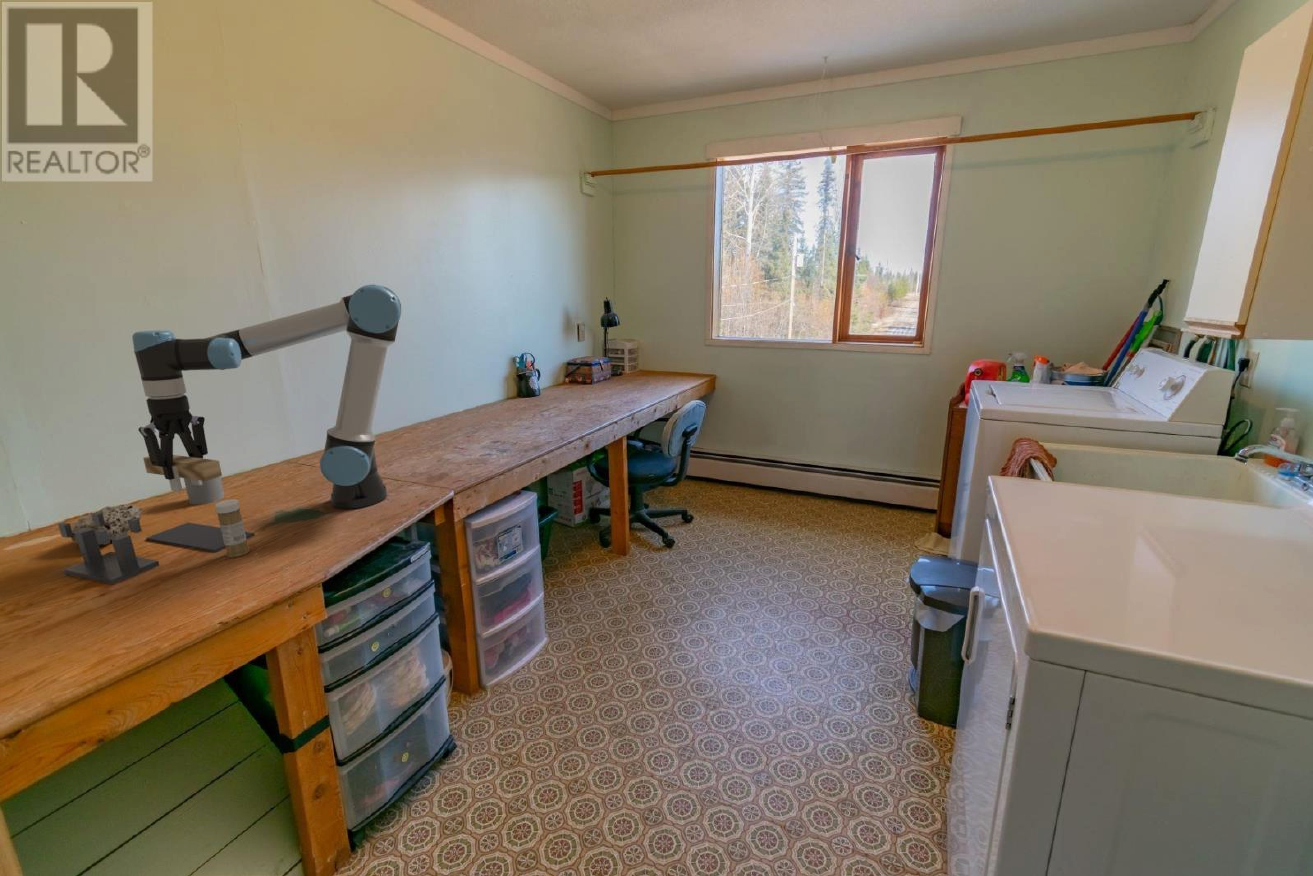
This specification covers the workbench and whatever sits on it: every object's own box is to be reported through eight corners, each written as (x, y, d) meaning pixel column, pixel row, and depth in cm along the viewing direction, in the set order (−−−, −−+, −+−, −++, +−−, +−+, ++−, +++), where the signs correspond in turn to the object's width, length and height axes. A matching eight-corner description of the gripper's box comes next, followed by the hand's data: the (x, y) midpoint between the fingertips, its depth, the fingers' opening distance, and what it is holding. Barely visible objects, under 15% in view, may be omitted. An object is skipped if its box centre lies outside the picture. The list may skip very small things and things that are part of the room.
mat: (254, 535, 144) (254, 533, 144) (215, 552, 135) (215, 550, 135) (188, 524, 151) (187, 522, 151) (146, 540, 141) (146, 538, 141)
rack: (159, 565, 129) (146, 517, 125) (113, 584, 120) (98, 534, 117) (112, 556, 133) (98, 510, 130) (64, 574, 125) (49, 525, 122)
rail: (222, 476, 137) (218, 460, 136) (205, 481, 133) (201, 465, 132) (164, 468, 143) (160, 453, 142) (146, 472, 139) (143, 457, 138)
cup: (183, 505, 163) (176, 474, 161) (197, 496, 171) (190, 465, 168) (217, 502, 166) (209, 471, 163) (229, 493, 173) (222, 463, 171)
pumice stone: (120, 526, 149) (113, 499, 147) (160, 528, 148) (152, 501, 146) (62, 550, 136) (52, 520, 134) (104, 553, 135) (95, 522, 133)
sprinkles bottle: (247, 547, 137) (236, 497, 134) (251, 553, 134) (240, 502, 131) (224, 554, 134) (212, 502, 130) (228, 560, 131) (216, 507, 127)
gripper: (192, 389, 142) (211, 475, 148) (113, 401, 126) (137, 497, 132) (214, 390, 140) (232, 478, 146) (136, 403, 124) (160, 501, 130)
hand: (187, 487), depth 139 cm, fingers closed on rail, 4 cm apart
